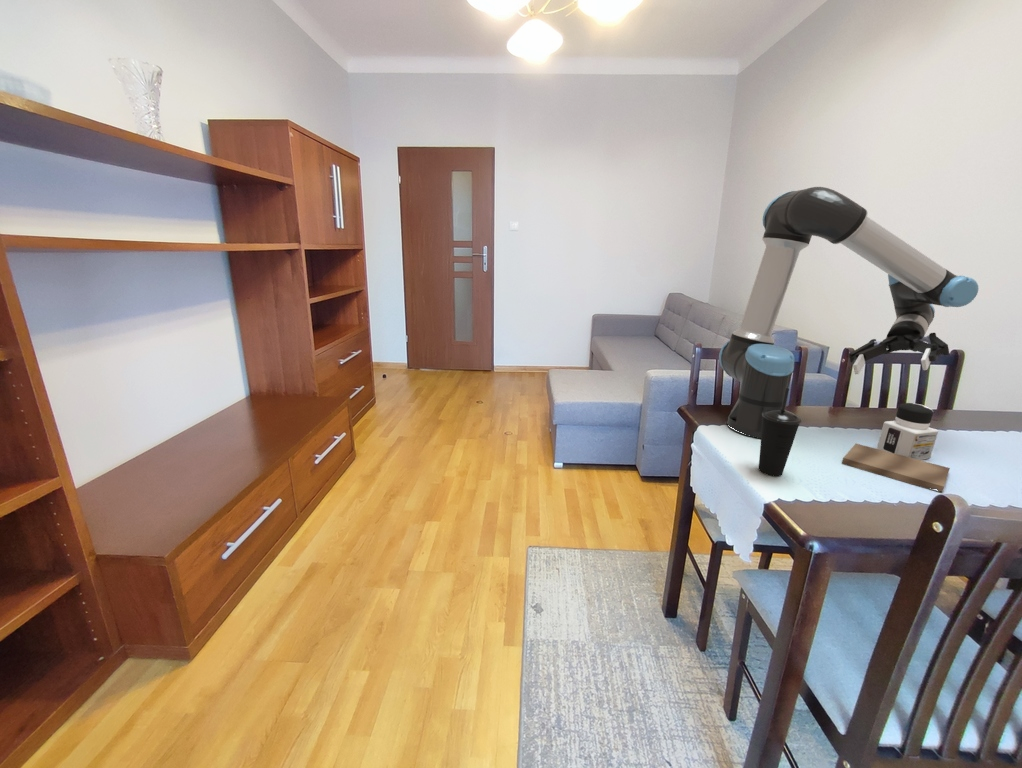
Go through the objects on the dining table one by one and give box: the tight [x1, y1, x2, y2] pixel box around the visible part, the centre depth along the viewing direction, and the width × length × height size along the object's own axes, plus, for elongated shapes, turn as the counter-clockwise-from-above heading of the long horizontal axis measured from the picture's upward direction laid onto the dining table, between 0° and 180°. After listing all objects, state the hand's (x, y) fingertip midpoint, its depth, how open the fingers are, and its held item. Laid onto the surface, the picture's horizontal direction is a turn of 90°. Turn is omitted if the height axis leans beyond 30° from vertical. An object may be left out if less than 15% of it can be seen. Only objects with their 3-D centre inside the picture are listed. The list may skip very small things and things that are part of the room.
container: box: [876, 402, 939, 461], centre depth 114 cm, size 8×8×13 cm
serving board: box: [841, 443, 951, 494], centre depth 108 cm, size 18×13×2 cm
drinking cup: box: [758, 387, 803, 478], centre depth 102 cm, size 8×8×20 cm
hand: (888, 367), depth 114 cm, fingers open, 13 cm apart
